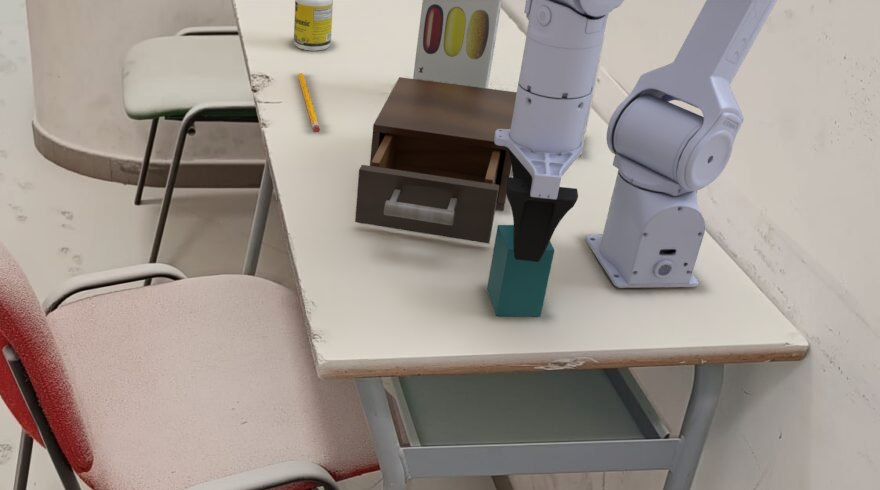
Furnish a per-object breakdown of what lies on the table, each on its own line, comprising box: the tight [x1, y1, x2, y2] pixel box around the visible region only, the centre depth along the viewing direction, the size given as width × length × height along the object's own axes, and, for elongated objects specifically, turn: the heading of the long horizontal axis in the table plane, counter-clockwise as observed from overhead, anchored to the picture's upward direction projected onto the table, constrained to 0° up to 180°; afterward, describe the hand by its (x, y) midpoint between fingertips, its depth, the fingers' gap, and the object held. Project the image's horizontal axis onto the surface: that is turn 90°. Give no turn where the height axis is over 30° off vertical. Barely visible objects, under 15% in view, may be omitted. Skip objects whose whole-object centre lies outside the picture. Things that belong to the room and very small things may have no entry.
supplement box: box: [412, 0, 503, 89], centre depth 126 cm, size 10×9×17 cm
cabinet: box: [369, 76, 517, 212], centre depth 111 cm, size 15×15×8 cm
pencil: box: [297, 72, 321, 133], centre depth 129 cm, size 1×18×1 cm, turn 5°
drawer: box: [354, 133, 502, 245], centre depth 102 cm, size 18×13×6 cm
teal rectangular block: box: [486, 224, 555, 317], centre depth 89 cm, size 4×4×7 cm
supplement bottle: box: [293, 0, 334, 52], centre depth 144 cm, size 5×5×10 cm
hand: (526, 236), depth 87 cm, fingers open, 7 cm apart
